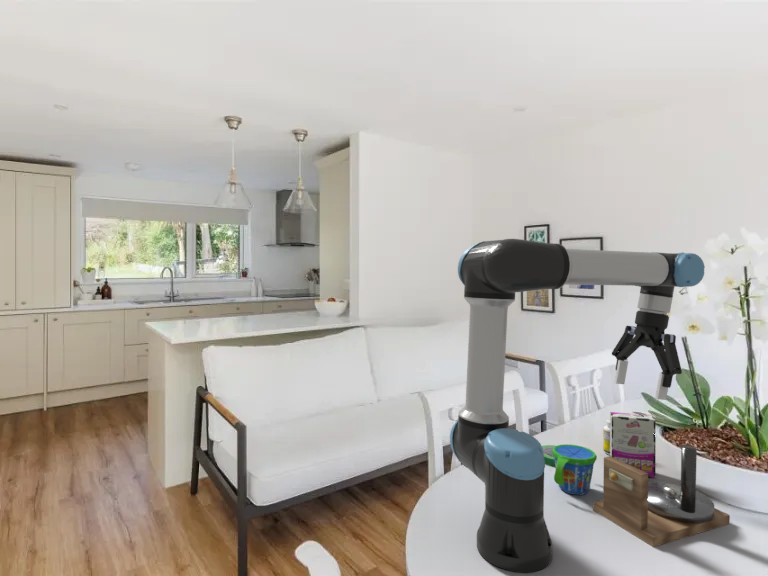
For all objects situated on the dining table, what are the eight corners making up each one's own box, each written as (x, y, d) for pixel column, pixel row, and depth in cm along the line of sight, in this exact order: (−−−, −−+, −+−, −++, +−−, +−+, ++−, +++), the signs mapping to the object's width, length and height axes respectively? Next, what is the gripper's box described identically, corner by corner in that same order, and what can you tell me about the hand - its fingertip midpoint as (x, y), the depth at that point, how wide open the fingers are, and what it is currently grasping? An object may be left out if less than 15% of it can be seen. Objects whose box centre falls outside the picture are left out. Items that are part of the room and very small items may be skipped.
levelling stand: (647, 548, 96) (648, 482, 95) (588, 511, 110) (588, 453, 110) (729, 523, 105) (730, 463, 104) (664, 492, 120) (665, 439, 119)
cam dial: (629, 487, 117) (630, 425, 116) (693, 492, 115) (694, 428, 114) (654, 519, 102) (655, 448, 102) (728, 525, 100) (730, 452, 99)
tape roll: (571, 471, 133) (571, 462, 133) (532, 463, 139) (532, 454, 139) (577, 457, 143) (578, 449, 142) (541, 450, 148) (541, 442, 148)
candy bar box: (652, 471, 132) (653, 414, 132) (655, 478, 127) (656, 420, 127) (609, 465, 136) (609, 410, 135) (611, 472, 131) (611, 415, 131)
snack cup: (573, 474, 130) (574, 439, 130) (609, 489, 122) (609, 451, 121) (537, 489, 122) (538, 451, 121) (573, 506, 113) (573, 465, 113)
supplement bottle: (613, 449, 149) (613, 417, 148) (627, 455, 143) (627, 423, 143) (599, 451, 147) (599, 419, 146) (612, 457, 142) (613, 425, 141)
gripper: (708, 320, 110) (692, 407, 111) (627, 307, 134) (614, 379, 135) (684, 317, 108) (668, 405, 109) (606, 304, 132) (593, 377, 133)
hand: (638, 391), depth 122 cm, fingers open, 13 cm apart
